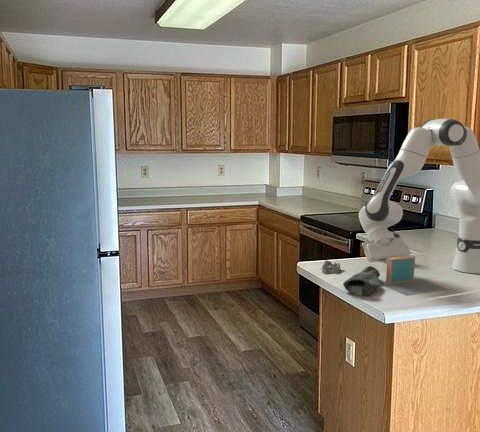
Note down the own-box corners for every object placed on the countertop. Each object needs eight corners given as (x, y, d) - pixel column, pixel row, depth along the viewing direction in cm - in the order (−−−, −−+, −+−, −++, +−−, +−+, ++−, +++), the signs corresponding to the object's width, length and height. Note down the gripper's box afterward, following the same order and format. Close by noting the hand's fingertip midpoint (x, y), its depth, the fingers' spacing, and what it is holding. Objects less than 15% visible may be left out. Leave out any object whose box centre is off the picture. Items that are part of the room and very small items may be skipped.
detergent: (372, 299, 183) (391, 280, 204) (371, 279, 182) (390, 263, 203) (338, 295, 190) (359, 278, 211) (337, 277, 189) (358, 261, 210)
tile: (409, 279, 207) (410, 255, 205) (414, 280, 204) (415, 256, 202) (385, 282, 202) (387, 257, 200) (390, 284, 199) (391, 259, 198)
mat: (413, 278, 210) (413, 276, 210) (447, 290, 194) (447, 289, 194) (374, 283, 202) (374, 282, 202) (406, 297, 186) (406, 295, 185)
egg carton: (326, 267, 227) (326, 258, 226) (342, 269, 224) (342, 260, 223) (319, 273, 217) (320, 264, 217) (336, 275, 214) (337, 266, 214)
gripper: (364, 237, 206) (378, 266, 198) (403, 233, 214) (418, 261, 207) (357, 246, 210) (370, 274, 203) (395, 242, 219) (410, 269, 211)
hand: (395, 268), depth 205 cm, fingers closed
